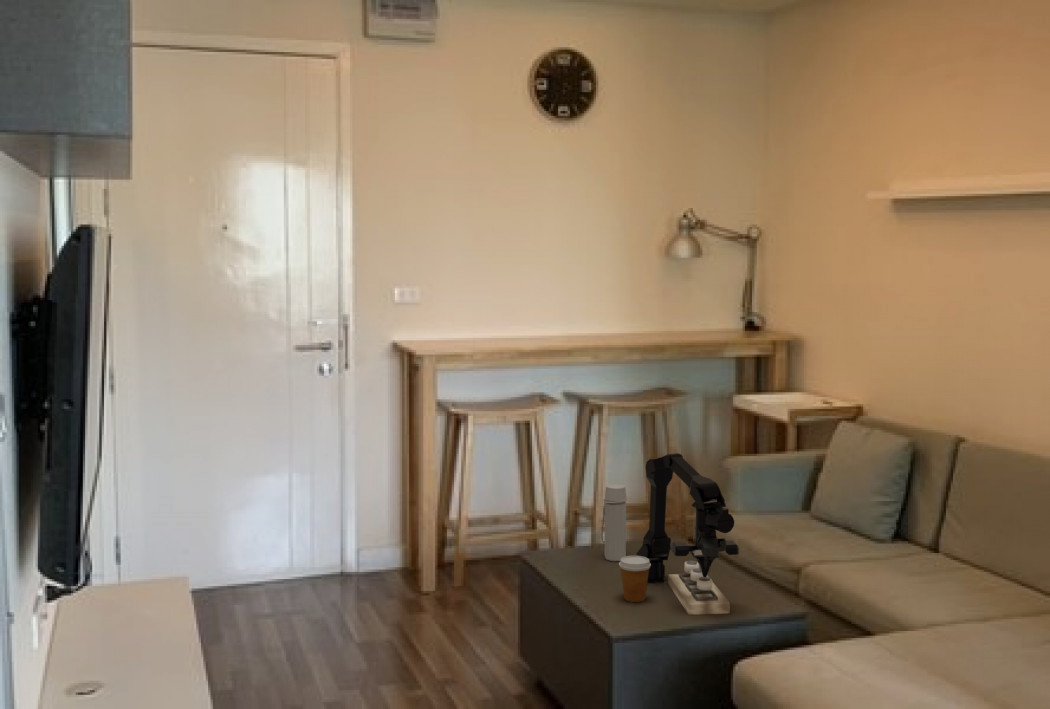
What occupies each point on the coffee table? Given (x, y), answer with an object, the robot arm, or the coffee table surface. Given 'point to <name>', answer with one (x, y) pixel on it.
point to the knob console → (698, 596)
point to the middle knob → (696, 574)
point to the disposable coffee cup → (634, 577)
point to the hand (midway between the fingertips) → (704, 576)
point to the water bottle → (614, 522)
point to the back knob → (691, 566)
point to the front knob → (704, 583)
